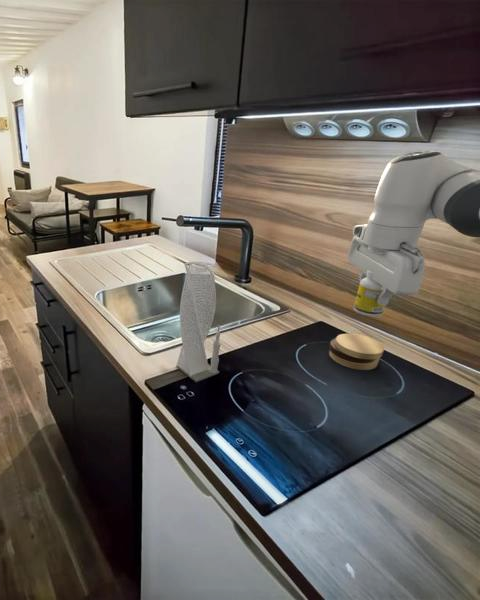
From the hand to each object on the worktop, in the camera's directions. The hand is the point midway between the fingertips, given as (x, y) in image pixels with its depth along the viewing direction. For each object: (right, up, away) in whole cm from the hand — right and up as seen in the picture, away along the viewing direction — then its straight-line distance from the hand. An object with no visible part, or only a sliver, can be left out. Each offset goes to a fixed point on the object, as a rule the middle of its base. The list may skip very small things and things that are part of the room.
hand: (371, 297), depth 81 cm
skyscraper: (-38, -18, +7) cm, 42 cm away
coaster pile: (+1, -15, +7) cm, 16 cm away
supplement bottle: (0, -3, +2) cm, 4 cm away
